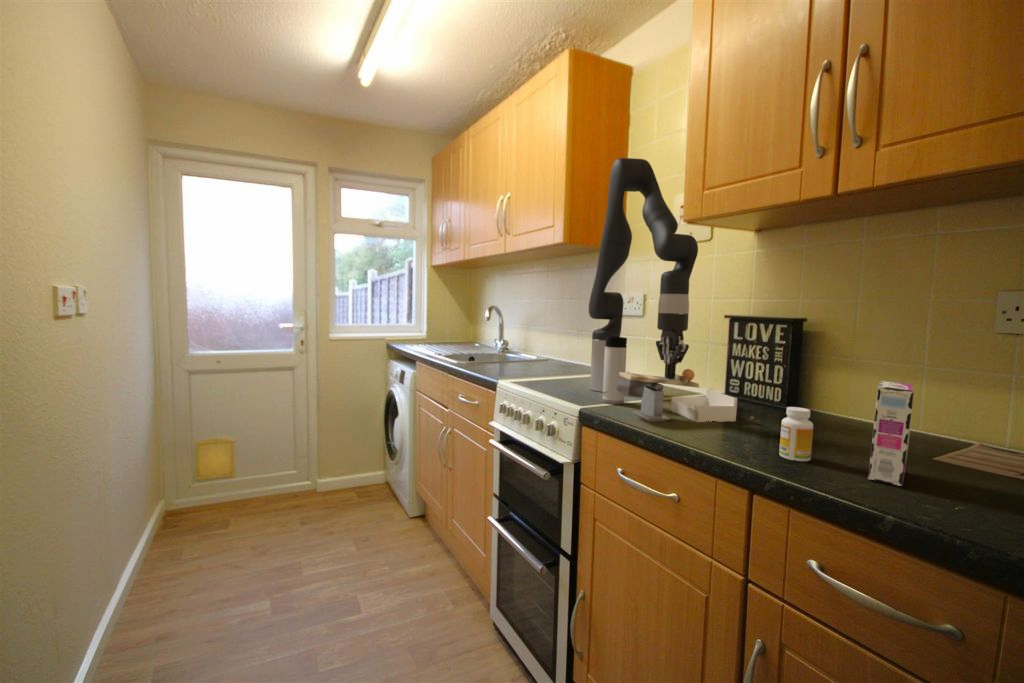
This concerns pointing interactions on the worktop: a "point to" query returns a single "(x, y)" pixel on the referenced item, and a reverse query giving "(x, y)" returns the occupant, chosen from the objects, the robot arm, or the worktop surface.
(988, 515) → the worktop surface
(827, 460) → the worktop surface
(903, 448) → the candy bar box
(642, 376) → the lever
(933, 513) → the worktop surface
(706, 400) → the tray
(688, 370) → the ball
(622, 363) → the travel mug
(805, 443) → the supplement bottle
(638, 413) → the fulcrum
